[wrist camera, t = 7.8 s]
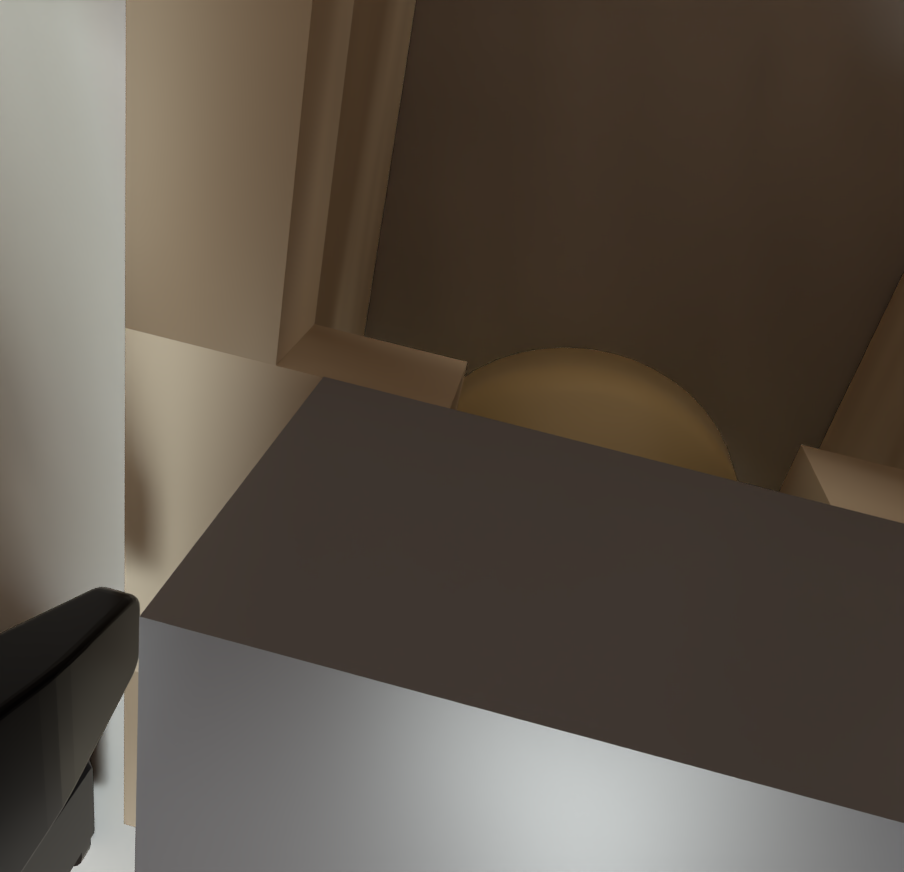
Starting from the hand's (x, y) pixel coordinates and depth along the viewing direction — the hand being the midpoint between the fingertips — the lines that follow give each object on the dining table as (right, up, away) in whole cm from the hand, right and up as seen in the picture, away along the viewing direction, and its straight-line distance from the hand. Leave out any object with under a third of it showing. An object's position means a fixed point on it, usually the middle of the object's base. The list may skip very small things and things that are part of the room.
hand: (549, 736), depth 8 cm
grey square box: (+1, +2, +4) cm, 5 cm away
